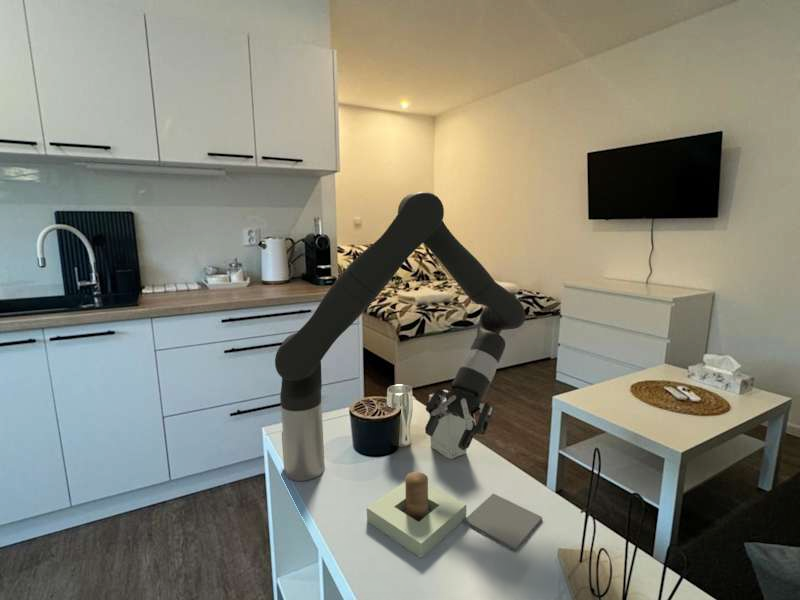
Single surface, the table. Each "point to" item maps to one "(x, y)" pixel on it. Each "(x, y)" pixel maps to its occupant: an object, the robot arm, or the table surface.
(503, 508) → the rubber mat
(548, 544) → the table surface
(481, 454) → the table surface
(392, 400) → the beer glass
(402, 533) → the collar block
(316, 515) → the table surface
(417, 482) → the walnut pin
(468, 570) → the table surface
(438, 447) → the skincare box
